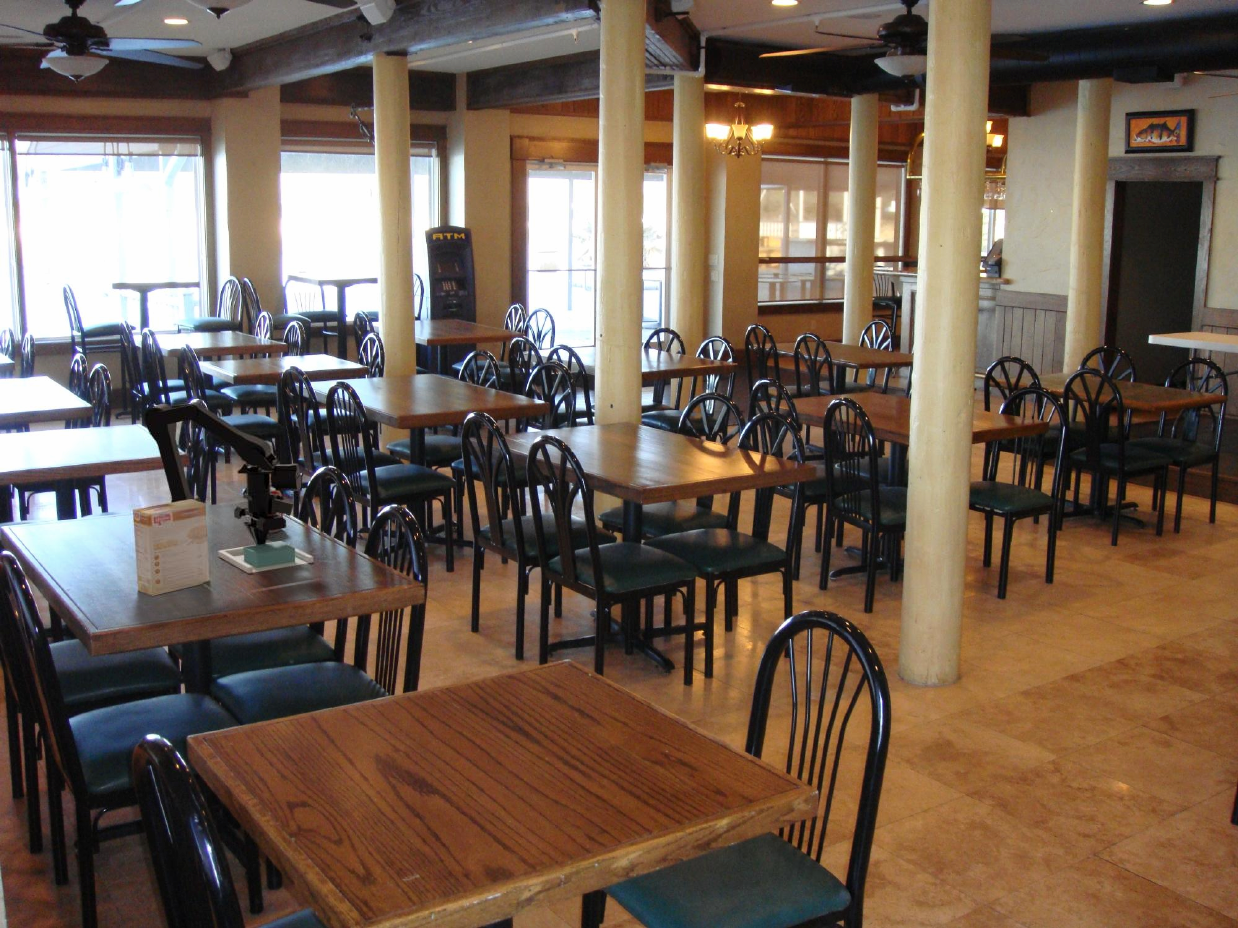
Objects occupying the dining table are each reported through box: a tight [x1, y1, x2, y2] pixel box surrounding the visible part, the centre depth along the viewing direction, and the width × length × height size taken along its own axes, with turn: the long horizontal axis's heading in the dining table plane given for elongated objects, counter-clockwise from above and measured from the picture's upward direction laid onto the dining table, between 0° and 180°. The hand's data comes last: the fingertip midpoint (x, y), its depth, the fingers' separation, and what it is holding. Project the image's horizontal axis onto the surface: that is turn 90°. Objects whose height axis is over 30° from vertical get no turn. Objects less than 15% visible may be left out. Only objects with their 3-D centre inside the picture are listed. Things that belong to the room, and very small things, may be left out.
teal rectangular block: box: [243, 540, 296, 568], centre depth 305 cm, size 10×8×4 cm
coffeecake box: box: [132, 499, 211, 597], centre depth 283 cm, size 15×7×20 cm, turn 141°
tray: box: [217, 540, 314, 574], centre depth 307 cm, size 17×19×2 cm
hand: (261, 550), depth 309 cm, fingers closed
